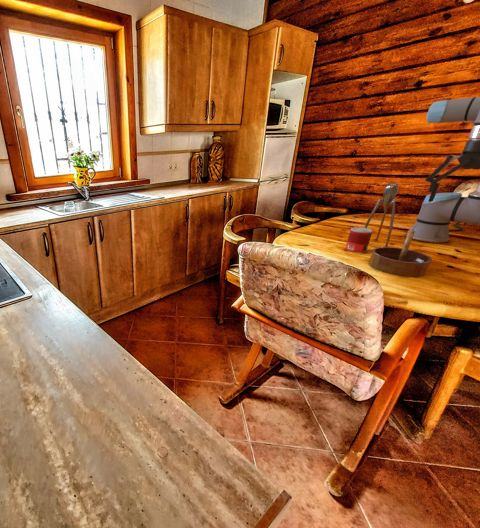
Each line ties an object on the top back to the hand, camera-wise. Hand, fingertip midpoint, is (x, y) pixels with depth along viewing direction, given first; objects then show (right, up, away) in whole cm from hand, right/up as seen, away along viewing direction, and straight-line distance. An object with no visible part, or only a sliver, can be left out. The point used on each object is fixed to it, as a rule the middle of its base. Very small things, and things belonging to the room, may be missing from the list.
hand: (456, 203), depth 99 cm
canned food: (-9, -16, +34) cm, 38 cm away
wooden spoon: (-5, -22, +16) cm, 28 cm away
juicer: (+5, -11, +42) cm, 44 cm away
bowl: (-8, -24, +15) cm, 29 cm away
